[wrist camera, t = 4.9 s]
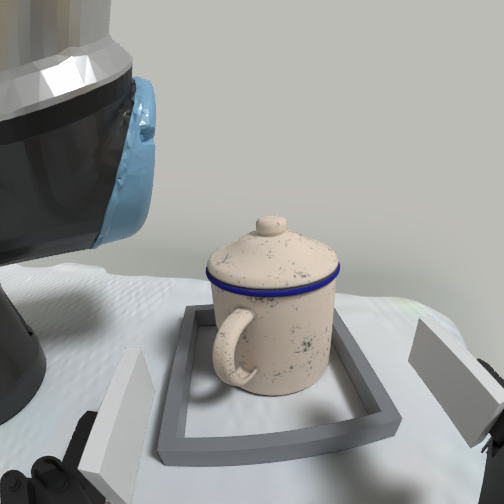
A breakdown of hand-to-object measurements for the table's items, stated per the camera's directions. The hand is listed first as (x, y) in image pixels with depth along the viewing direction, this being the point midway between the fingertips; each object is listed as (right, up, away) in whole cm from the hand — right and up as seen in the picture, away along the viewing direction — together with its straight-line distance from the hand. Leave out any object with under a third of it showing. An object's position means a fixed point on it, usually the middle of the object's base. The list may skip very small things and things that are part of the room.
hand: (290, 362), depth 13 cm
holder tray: (0, -4, +9) cm, 10 cm away
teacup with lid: (0, -5, +9) cm, 10 cm away
